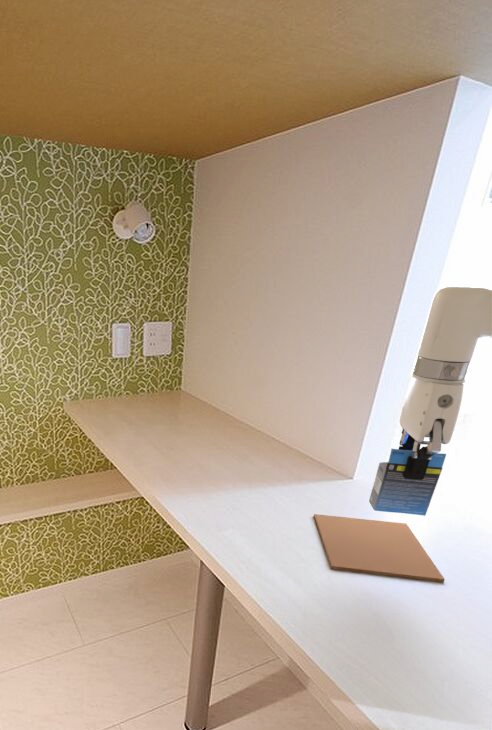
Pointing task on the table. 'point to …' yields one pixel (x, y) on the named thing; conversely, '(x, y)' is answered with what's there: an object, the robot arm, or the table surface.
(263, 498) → the table surface
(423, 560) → the cork mat
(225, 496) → the table surface
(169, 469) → the table surface
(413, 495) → the label tape box
